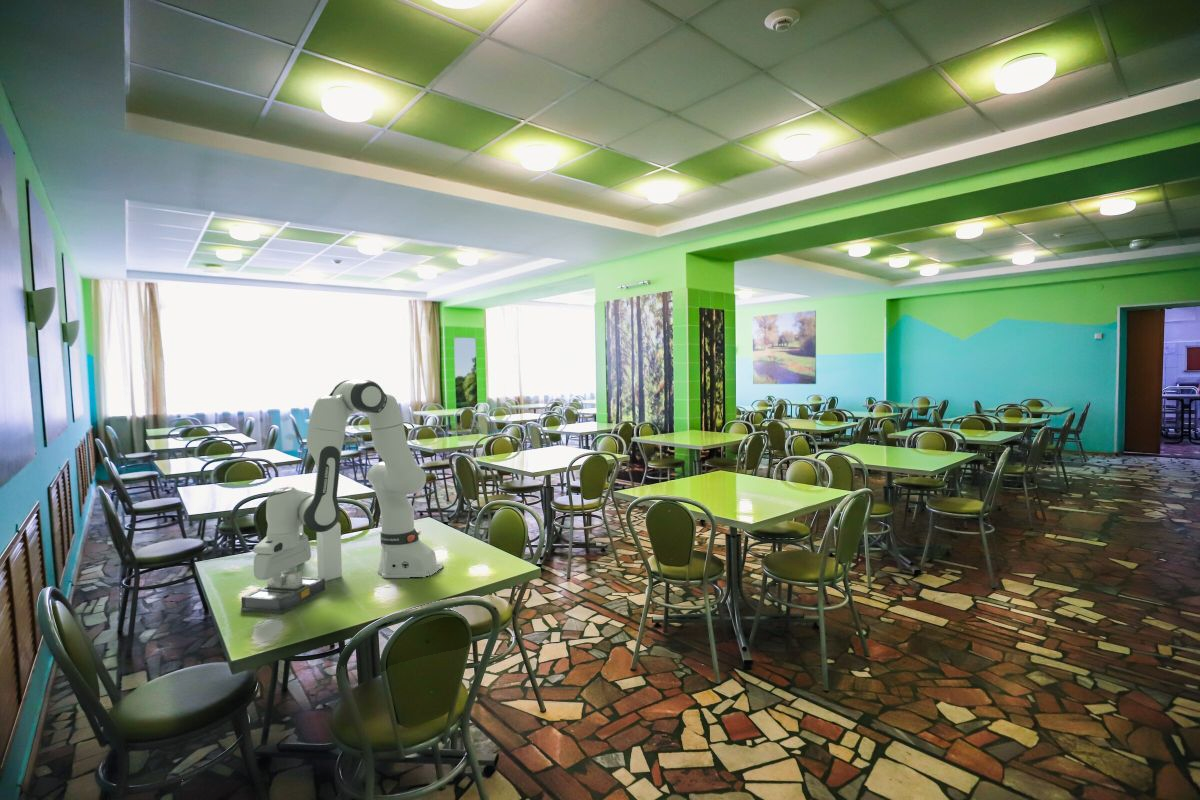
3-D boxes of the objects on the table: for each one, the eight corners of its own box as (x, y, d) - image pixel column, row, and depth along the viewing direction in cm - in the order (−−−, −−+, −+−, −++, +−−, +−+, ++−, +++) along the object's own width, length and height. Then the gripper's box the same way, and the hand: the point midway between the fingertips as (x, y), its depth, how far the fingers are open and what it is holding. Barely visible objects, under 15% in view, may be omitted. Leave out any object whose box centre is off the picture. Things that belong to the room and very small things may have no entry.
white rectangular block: (302, 590, 177) (301, 571, 177) (295, 593, 174) (294, 574, 174) (275, 588, 179) (274, 569, 179) (267, 591, 176) (267, 572, 176)
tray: (326, 590, 185) (326, 578, 185) (282, 614, 166) (282, 600, 166) (287, 587, 188) (287, 575, 188) (240, 610, 169) (239, 597, 169)
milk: (335, 572, 202) (333, 511, 201) (342, 576, 197) (340, 514, 197) (317, 577, 197) (315, 514, 197) (324, 581, 193) (322, 517, 192)
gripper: (298, 530, 187) (300, 572, 188) (248, 549, 167) (250, 595, 167) (315, 531, 186) (316, 573, 186) (267, 550, 166) (268, 596, 166)
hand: (285, 583), depth 177 cm, fingers open, 3 cm apart
